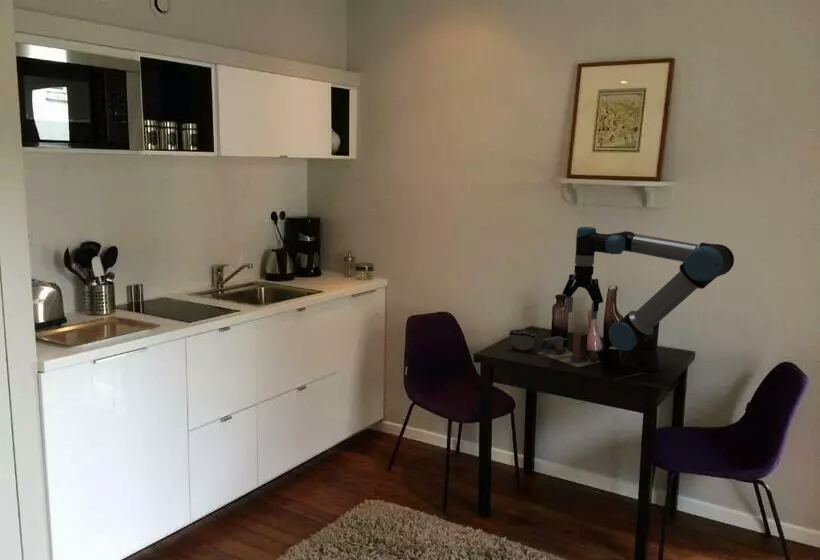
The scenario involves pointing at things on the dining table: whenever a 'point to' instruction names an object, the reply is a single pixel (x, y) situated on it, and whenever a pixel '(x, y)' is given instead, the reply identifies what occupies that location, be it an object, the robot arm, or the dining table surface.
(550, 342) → the anvil
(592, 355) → the nut
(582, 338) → the reddish brown block
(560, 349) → the nut
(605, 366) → the dining table surface
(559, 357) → the board
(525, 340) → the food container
